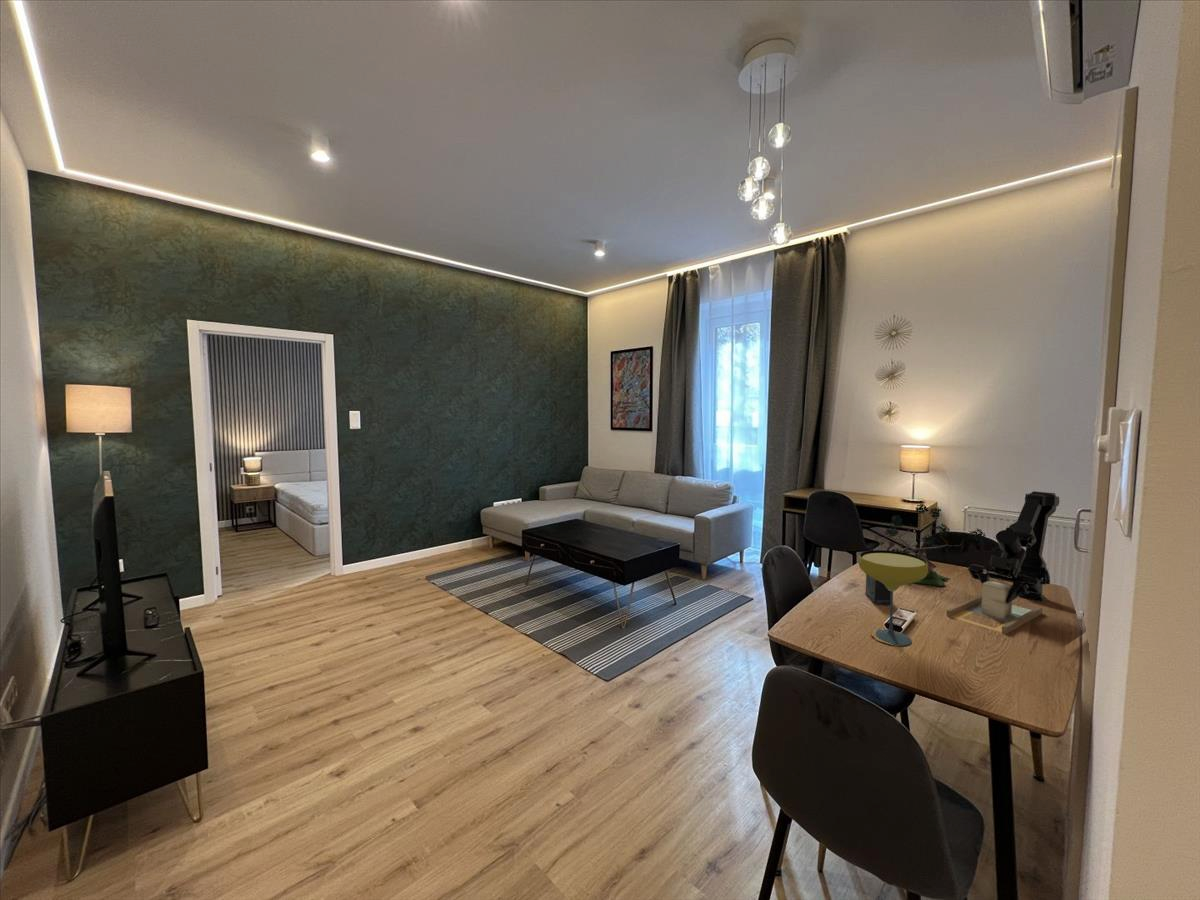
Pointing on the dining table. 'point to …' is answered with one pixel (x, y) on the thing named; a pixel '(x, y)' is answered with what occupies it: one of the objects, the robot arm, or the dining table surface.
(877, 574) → the cocktail glass
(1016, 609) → the trough deck
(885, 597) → the small box
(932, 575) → the bonsai tree
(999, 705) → the dining table surface
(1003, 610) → the maple block
